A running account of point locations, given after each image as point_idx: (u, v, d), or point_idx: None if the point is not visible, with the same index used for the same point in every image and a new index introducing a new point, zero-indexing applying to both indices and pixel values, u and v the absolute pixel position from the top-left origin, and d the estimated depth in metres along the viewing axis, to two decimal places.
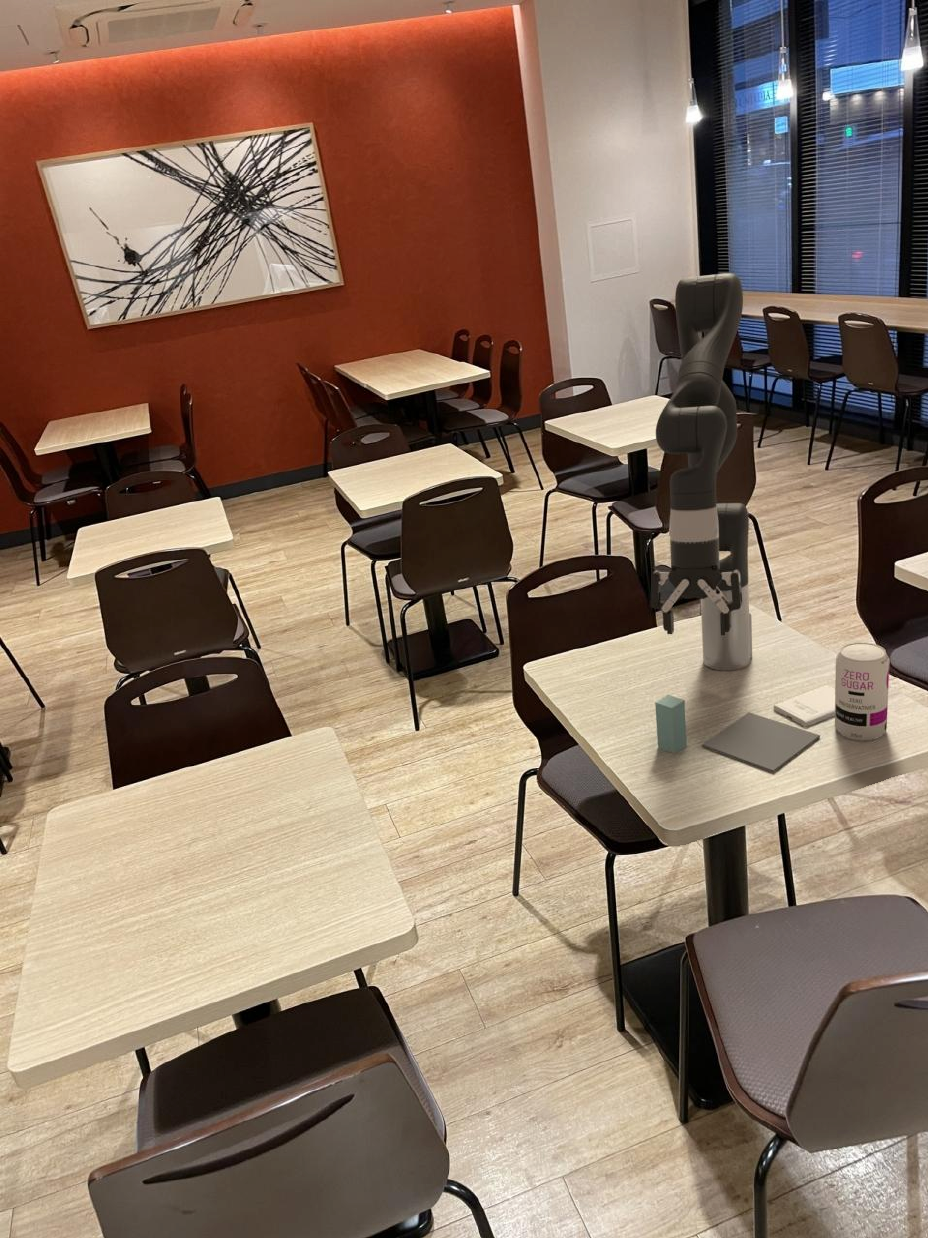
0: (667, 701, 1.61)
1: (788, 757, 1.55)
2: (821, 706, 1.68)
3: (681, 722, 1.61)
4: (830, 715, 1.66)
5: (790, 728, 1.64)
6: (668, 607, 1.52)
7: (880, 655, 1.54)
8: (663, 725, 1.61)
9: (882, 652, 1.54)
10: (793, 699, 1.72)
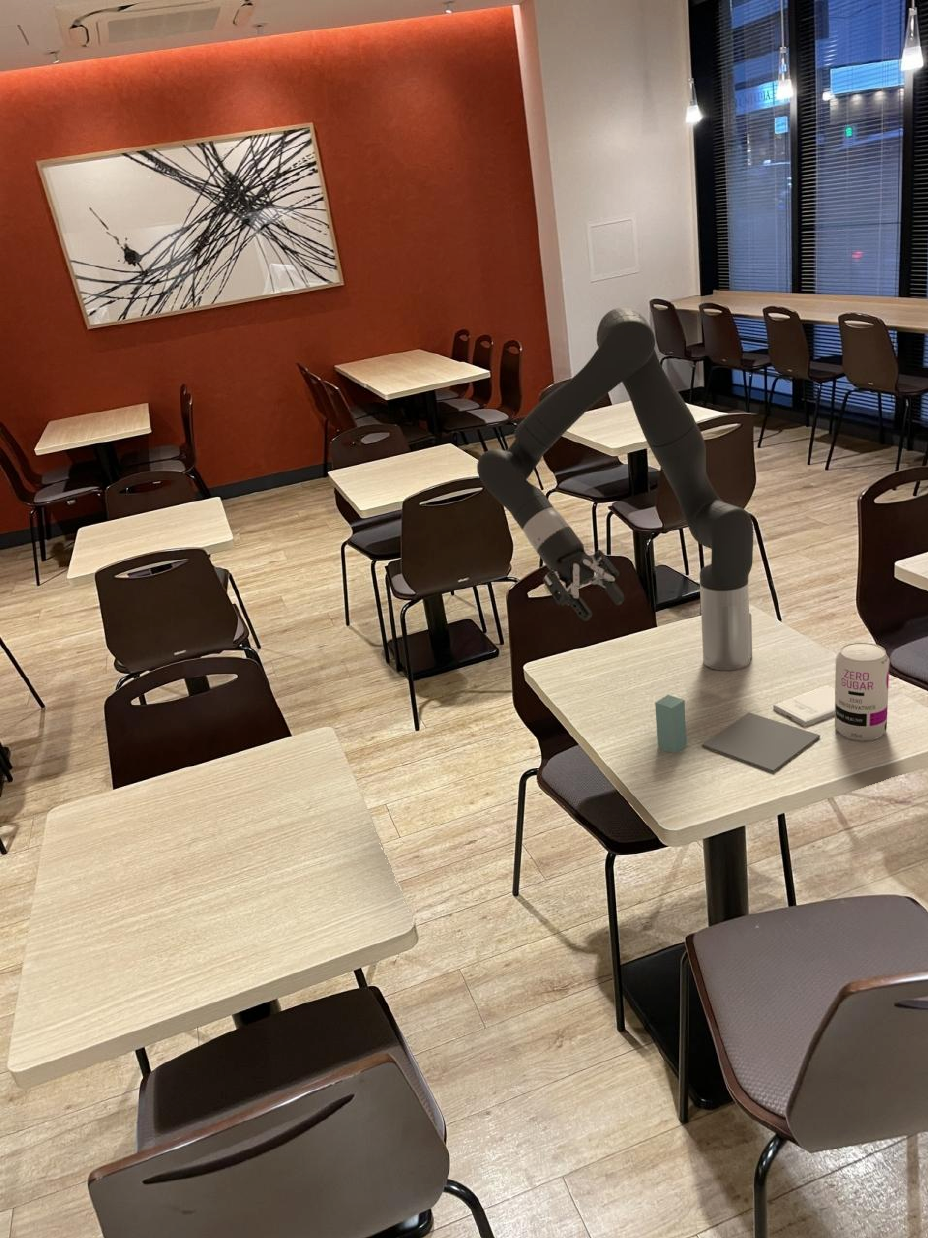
0: (667, 701, 1.61)
1: (788, 757, 1.55)
2: (821, 706, 1.68)
3: (681, 722, 1.61)
4: (830, 715, 1.66)
5: (790, 728, 1.64)
6: None
7: (880, 655, 1.54)
8: (663, 725, 1.61)
9: (882, 652, 1.54)
10: (793, 699, 1.72)
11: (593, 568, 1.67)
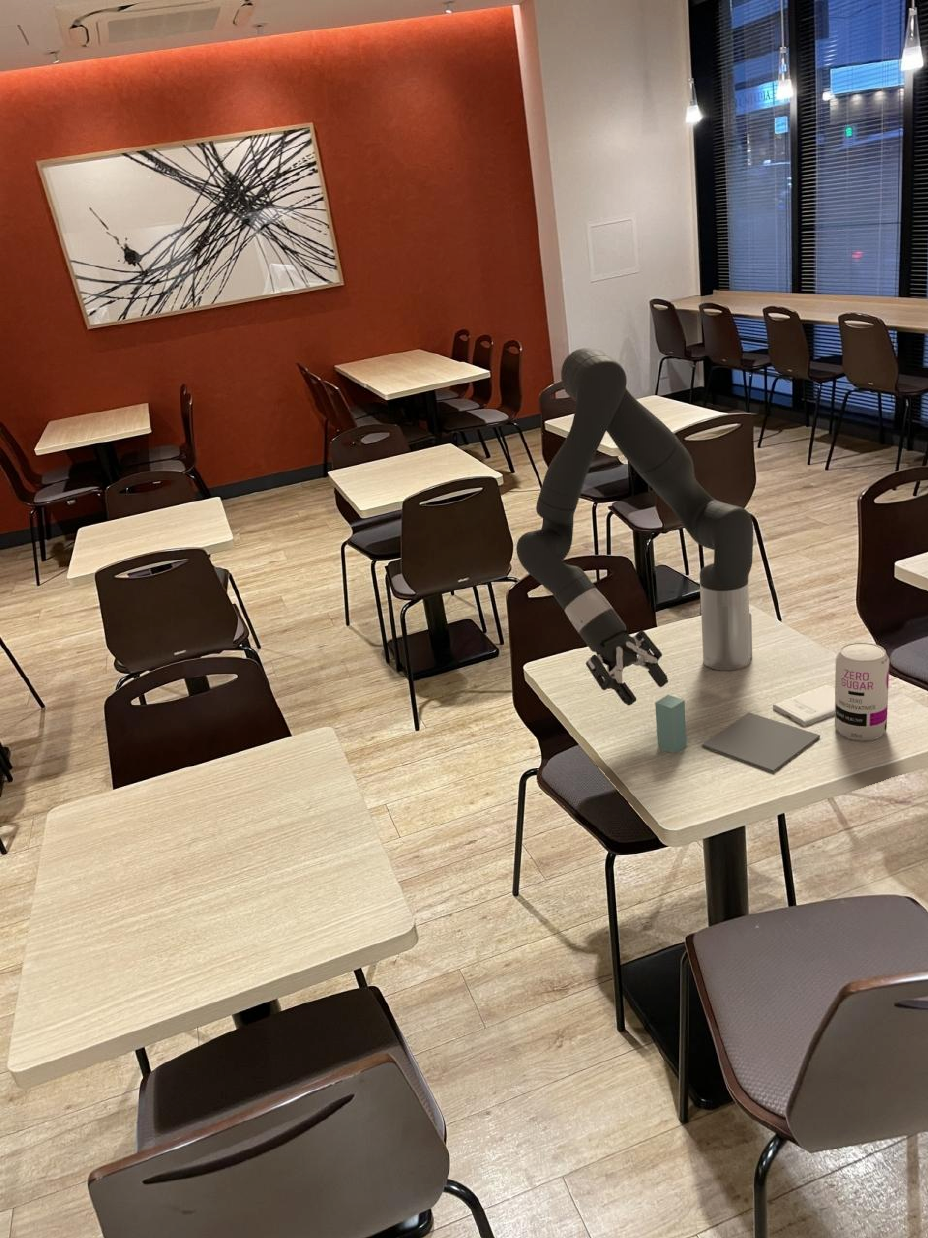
0: (667, 701, 1.61)
1: (788, 757, 1.55)
2: (821, 705, 1.68)
3: (681, 722, 1.61)
4: (829, 715, 1.66)
5: (790, 728, 1.64)
6: None
7: (880, 655, 1.54)
8: (663, 725, 1.61)
9: (882, 652, 1.54)
10: (793, 698, 1.72)
11: (636, 651, 1.66)
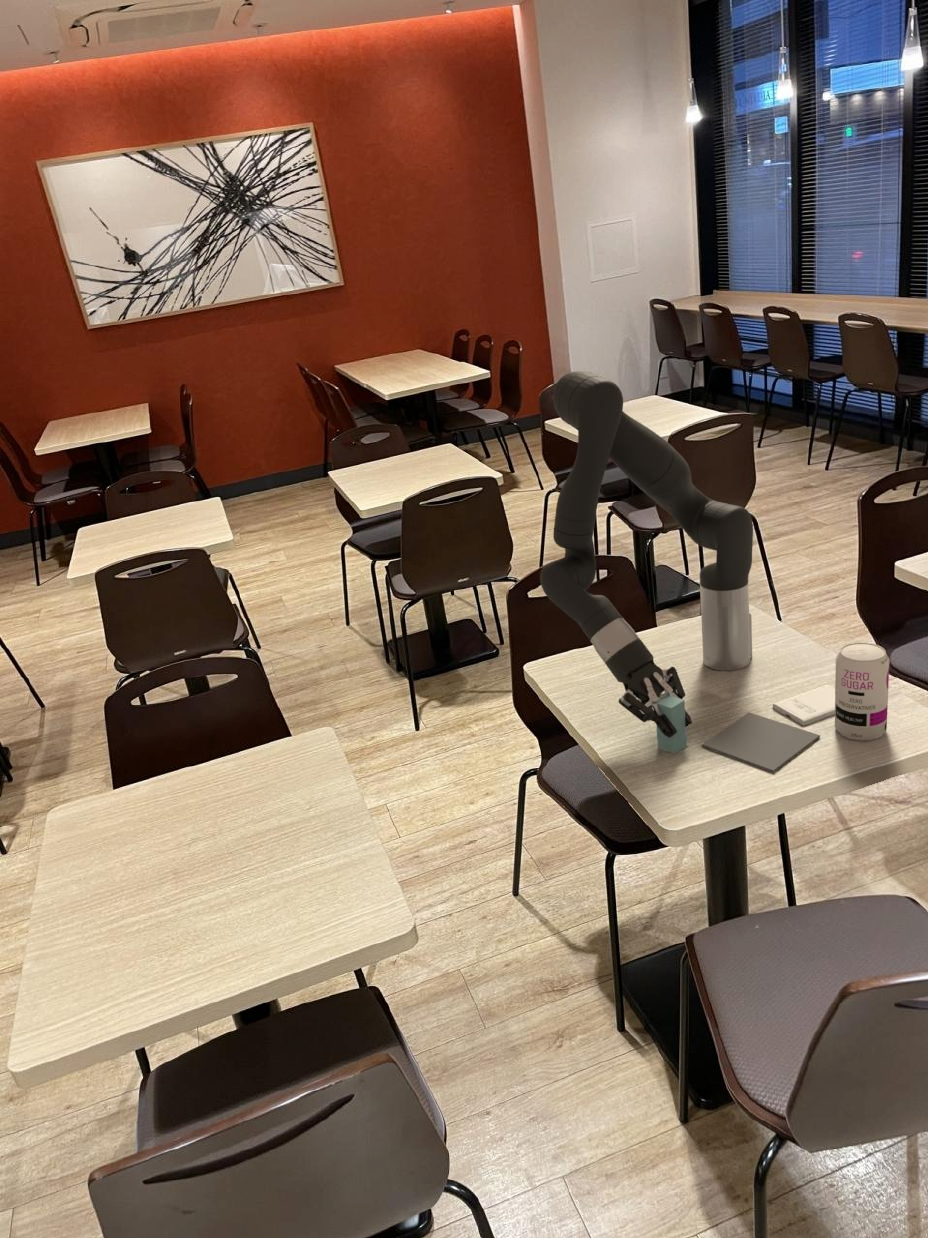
0: (667, 701, 1.61)
1: (788, 757, 1.55)
2: (820, 705, 1.68)
3: (681, 722, 1.61)
4: (829, 714, 1.66)
5: (790, 728, 1.64)
6: None
7: (880, 655, 1.54)
8: None
9: (882, 652, 1.54)
10: (792, 698, 1.72)
11: (662, 684, 1.63)
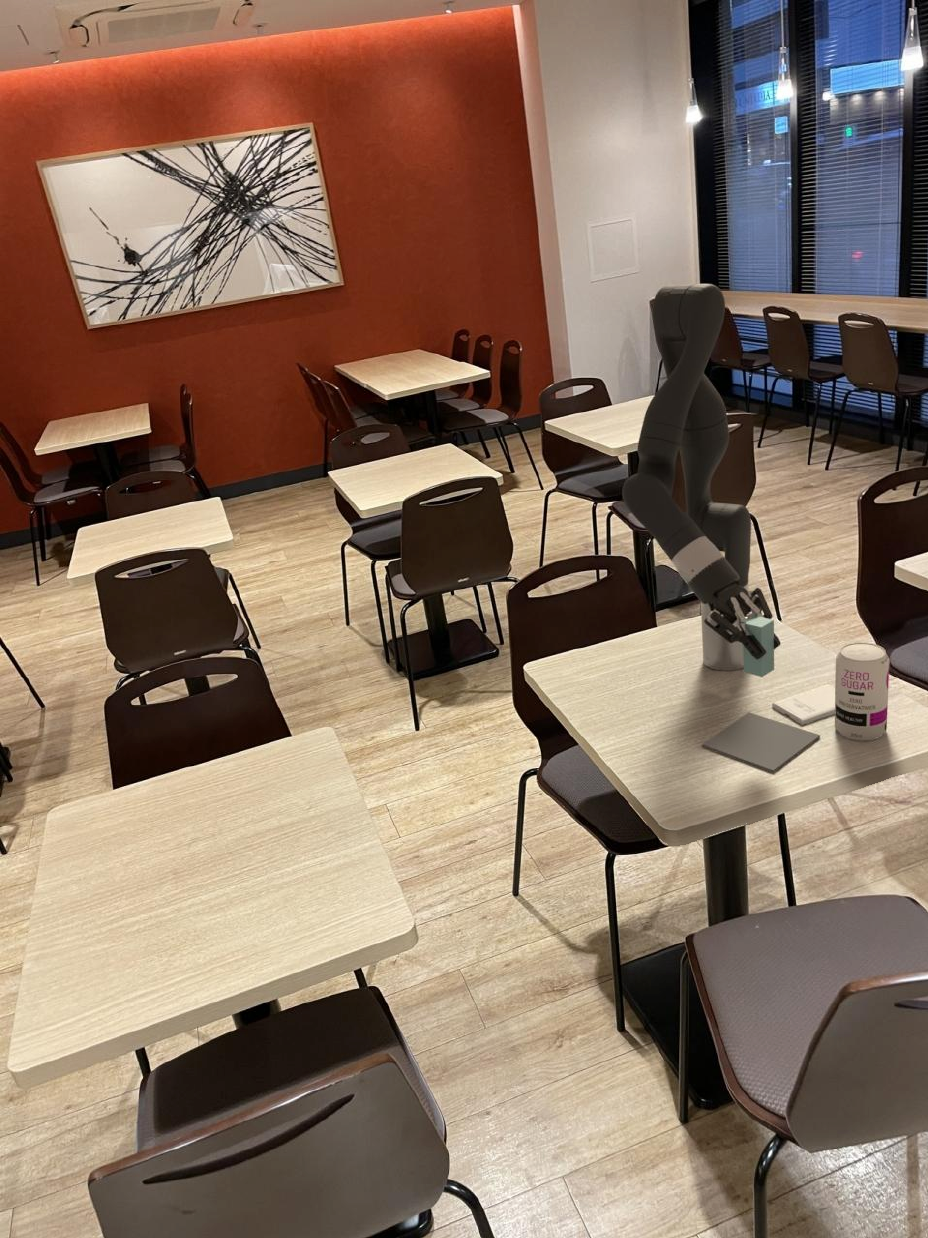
0: (755, 621, 1.53)
1: (788, 757, 1.55)
2: (820, 705, 1.69)
3: (770, 643, 1.54)
4: (828, 714, 1.67)
5: (790, 728, 1.64)
6: None
7: (880, 655, 1.54)
8: None
9: (882, 652, 1.54)
10: (792, 697, 1.72)
11: (749, 604, 1.55)
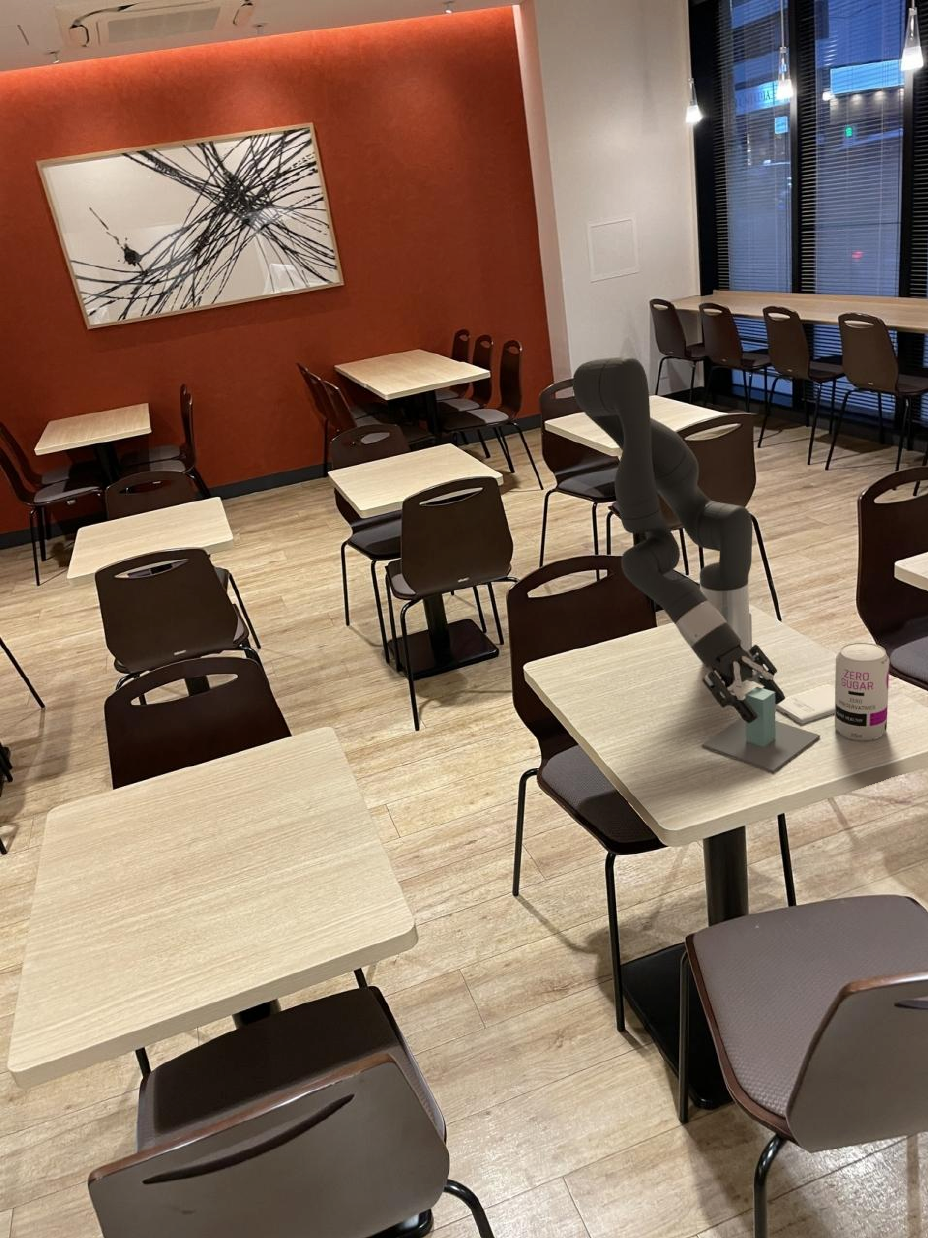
0: (757, 693, 1.58)
1: (788, 757, 1.55)
2: (819, 704, 1.69)
3: (771, 714, 1.59)
4: (827, 713, 1.67)
5: (790, 728, 1.64)
6: None
7: (880, 655, 1.54)
8: None
9: (882, 652, 1.54)
10: (792, 696, 1.73)
11: (752, 666, 1.60)
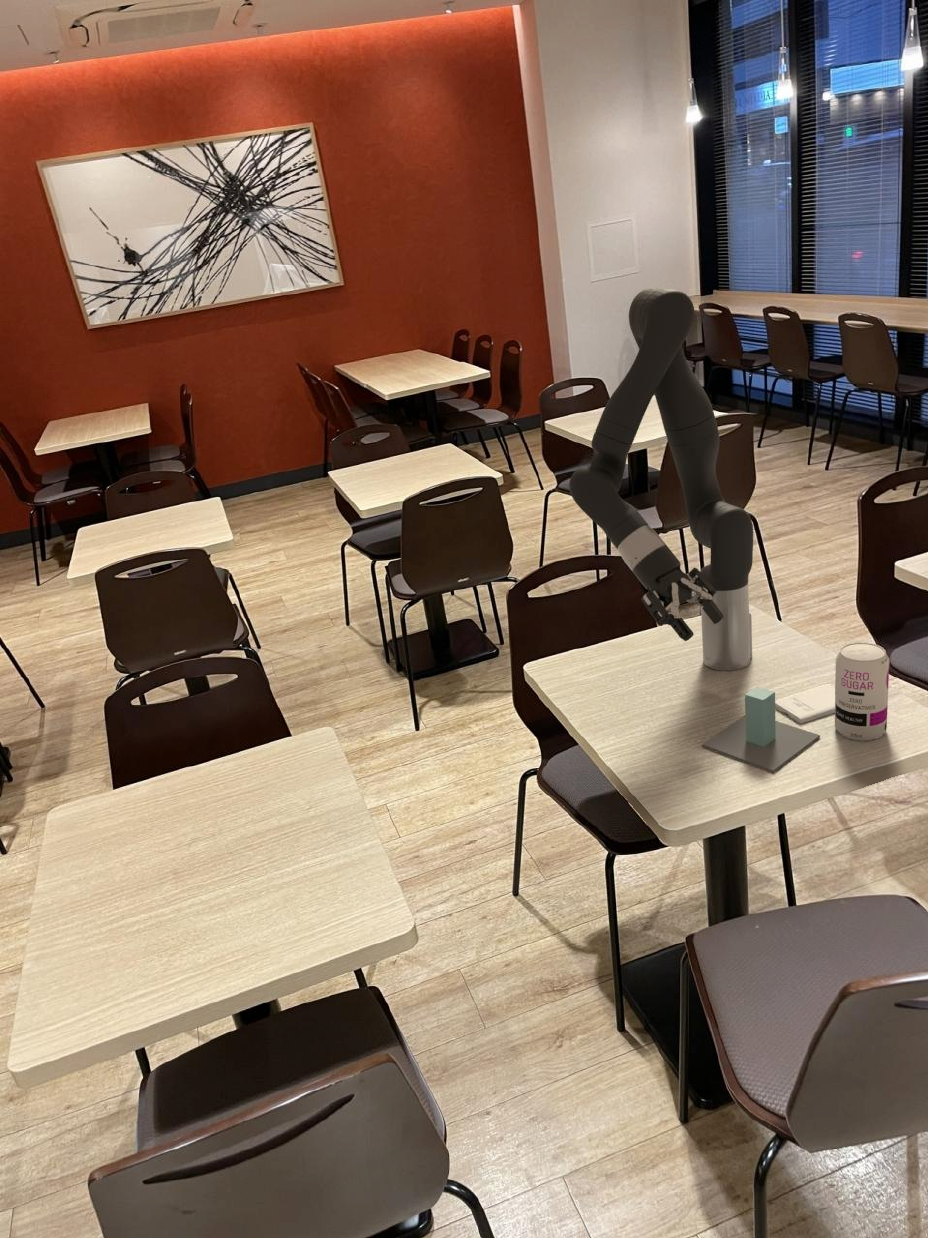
0: (757, 693, 1.58)
1: (788, 757, 1.55)
2: (819, 704, 1.69)
3: (771, 714, 1.59)
4: (826, 713, 1.67)
5: (790, 728, 1.64)
6: None
7: (880, 655, 1.54)
8: (753, 717, 1.59)
9: (882, 652, 1.54)
10: (792, 696, 1.73)
11: (691, 587, 1.64)
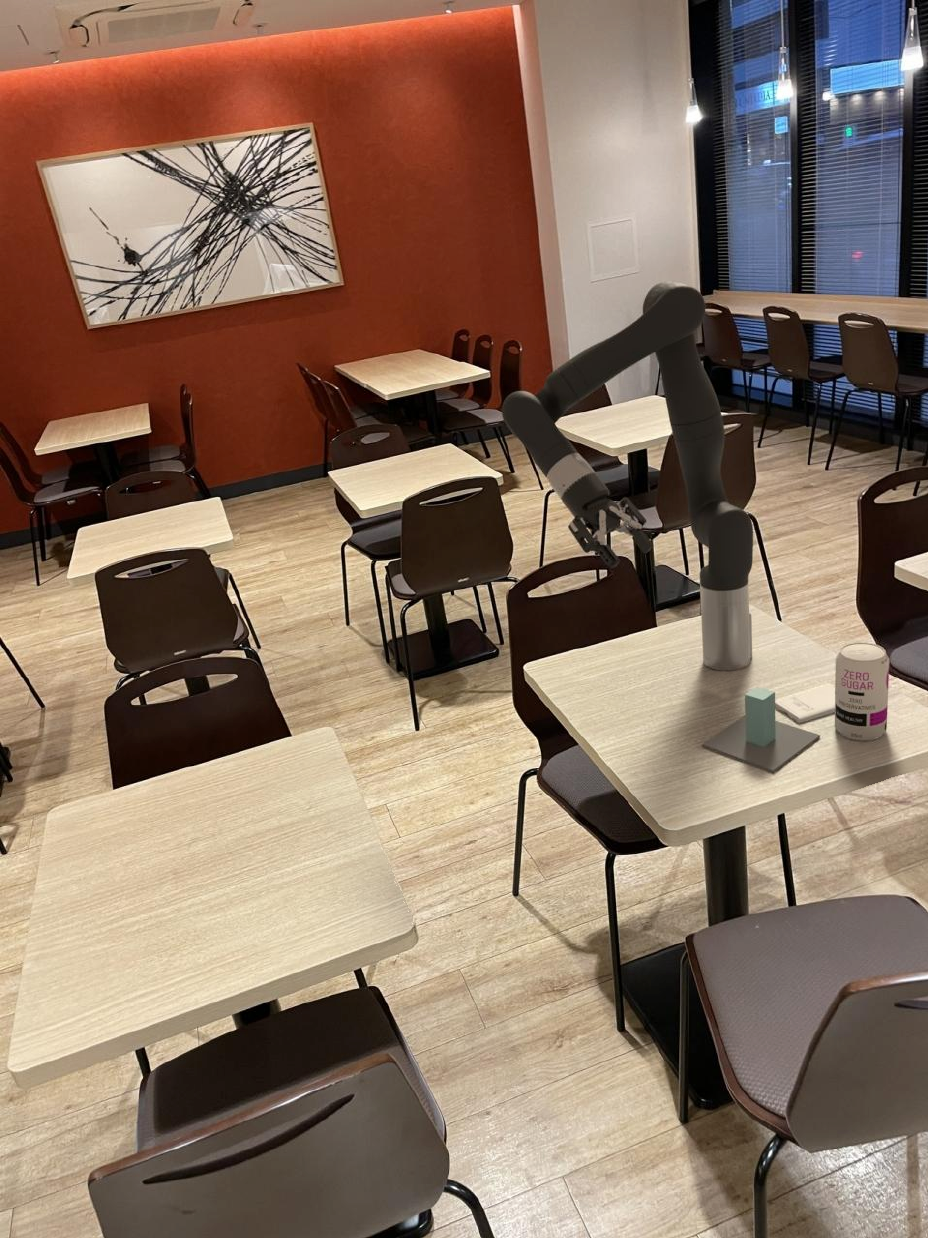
0: (757, 693, 1.58)
1: (788, 757, 1.55)
2: (818, 703, 1.69)
3: (771, 714, 1.59)
4: (826, 713, 1.67)
5: (790, 728, 1.64)
6: None
7: (880, 655, 1.54)
8: (753, 717, 1.59)
9: (882, 652, 1.54)
10: (792, 695, 1.73)
11: (620, 515, 1.62)
